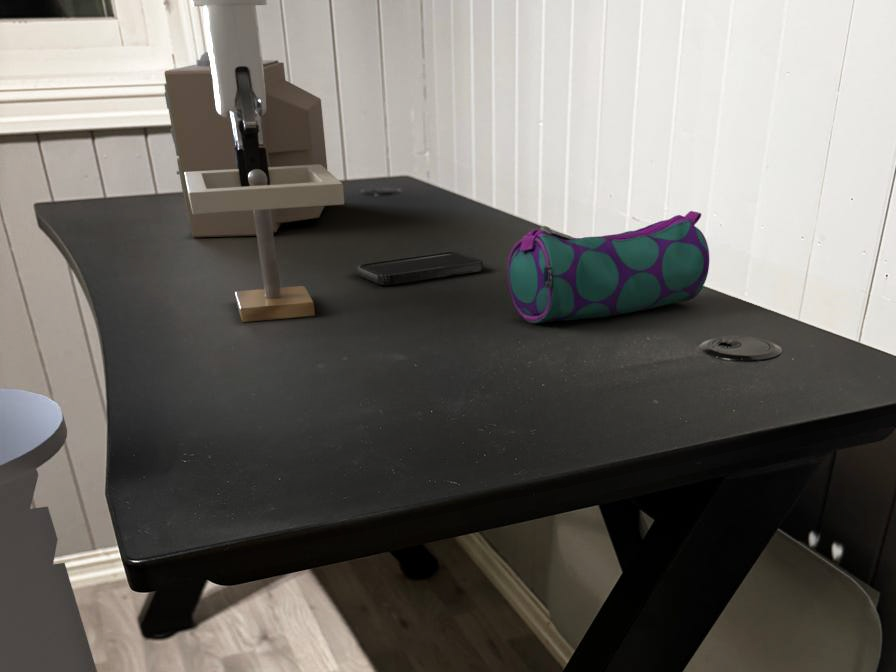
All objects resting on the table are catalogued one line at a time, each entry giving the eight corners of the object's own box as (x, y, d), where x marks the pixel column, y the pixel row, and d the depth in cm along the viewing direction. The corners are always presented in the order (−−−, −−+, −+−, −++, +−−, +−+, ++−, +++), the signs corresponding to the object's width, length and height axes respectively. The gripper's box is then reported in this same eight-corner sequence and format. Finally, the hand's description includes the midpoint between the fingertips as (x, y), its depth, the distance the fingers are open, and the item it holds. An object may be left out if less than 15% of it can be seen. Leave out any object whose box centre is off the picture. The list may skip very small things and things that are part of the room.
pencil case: (542, 335, 97) (545, 236, 91) (505, 315, 103) (505, 221, 98) (708, 310, 104) (719, 217, 98) (663, 293, 110) (671, 204, 105)
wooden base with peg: (242, 322, 103) (219, 176, 95) (236, 304, 109) (215, 166, 101) (315, 315, 104) (299, 171, 96) (305, 298, 111) (289, 162, 103)
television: (222, 200, 173) (181, -71, 151) (333, 197, 174) (308, -73, 152) (182, 238, 143) (123, -93, 121) (316, 235, 144) (282, -95, 122)
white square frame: (192, 214, 93) (188, 192, 92) (187, 191, 105) (184, 171, 104) (344, 204, 96) (342, 183, 95) (322, 183, 108) (320, 164, 107)
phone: (354, 265, 120) (455, 250, 126) (355, 274, 120) (455, 259, 127) (381, 277, 114) (486, 261, 121) (382, 286, 115) (486, 270, 121)
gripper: (187, -9, 101) (217, 179, 111) (192, -13, 88) (225, 200, 98) (257, -10, 102) (280, 175, 113) (272, -14, 90) (297, 195, 100)
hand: (254, 185), depth 106 cm, fingers closed on white square frame, 1 cm apart
